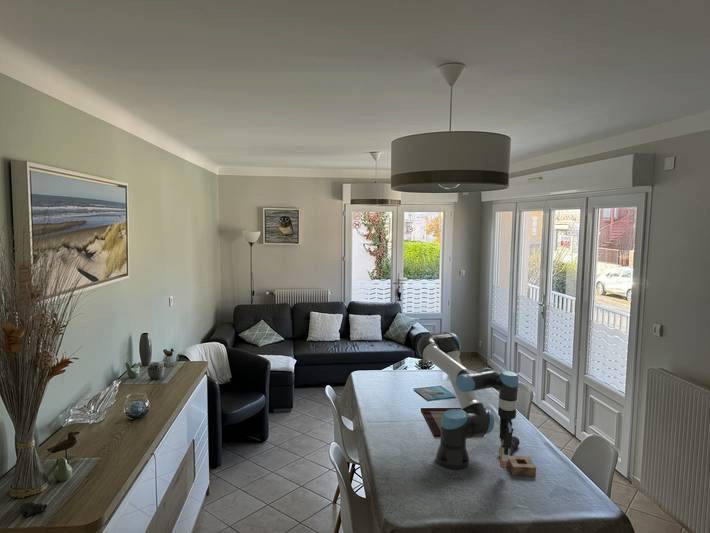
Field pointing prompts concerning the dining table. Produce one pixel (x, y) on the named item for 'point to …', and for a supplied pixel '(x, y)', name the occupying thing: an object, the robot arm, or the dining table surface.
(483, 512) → the dining table surface
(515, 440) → the flashlight
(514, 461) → the socket block
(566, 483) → the dining table surface
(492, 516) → the dining table surface
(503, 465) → the peg
